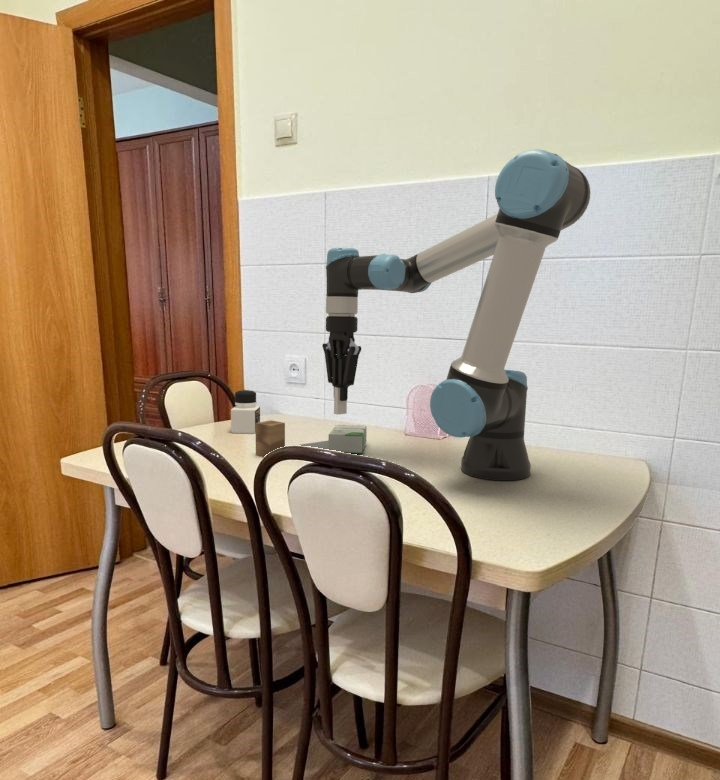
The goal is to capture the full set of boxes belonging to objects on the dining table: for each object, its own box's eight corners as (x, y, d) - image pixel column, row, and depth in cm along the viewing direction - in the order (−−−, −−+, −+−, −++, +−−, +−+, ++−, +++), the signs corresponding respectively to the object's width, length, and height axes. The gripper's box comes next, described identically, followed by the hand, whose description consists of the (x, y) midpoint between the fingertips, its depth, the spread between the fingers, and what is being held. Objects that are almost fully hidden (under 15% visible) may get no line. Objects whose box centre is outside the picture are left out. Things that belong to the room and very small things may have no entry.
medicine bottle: (255, 433, 161) (255, 392, 159) (230, 433, 161) (230, 392, 159) (260, 429, 168) (260, 389, 166) (236, 428, 168) (236, 388, 167)
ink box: (362, 454, 138) (367, 442, 149) (362, 434, 137) (367, 424, 149) (327, 453, 139) (335, 441, 150) (327, 433, 138) (335, 423, 150)
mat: (360, 450, 143) (361, 448, 143) (300, 460, 133) (300, 458, 133) (333, 441, 153) (333, 439, 153) (275, 449, 142) (275, 448, 142)
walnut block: (284, 454, 138) (284, 422, 137) (269, 458, 134) (269, 425, 133) (270, 451, 141) (270, 420, 140) (255, 455, 137) (255, 423, 136)
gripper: (371, 316, 130) (369, 416, 133) (338, 315, 140) (337, 408, 143) (345, 315, 125) (343, 419, 128) (313, 314, 135) (312, 411, 139)
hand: (340, 413), depth 136 cm, fingers closed
